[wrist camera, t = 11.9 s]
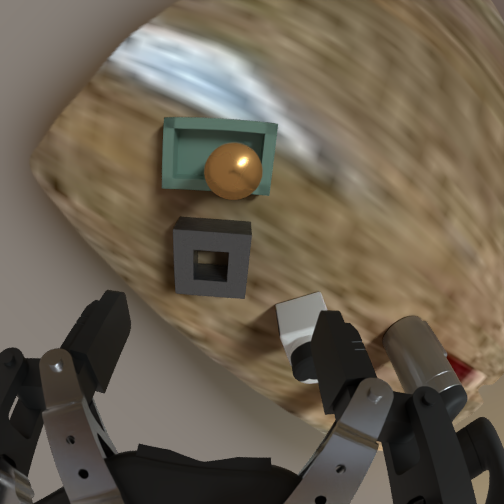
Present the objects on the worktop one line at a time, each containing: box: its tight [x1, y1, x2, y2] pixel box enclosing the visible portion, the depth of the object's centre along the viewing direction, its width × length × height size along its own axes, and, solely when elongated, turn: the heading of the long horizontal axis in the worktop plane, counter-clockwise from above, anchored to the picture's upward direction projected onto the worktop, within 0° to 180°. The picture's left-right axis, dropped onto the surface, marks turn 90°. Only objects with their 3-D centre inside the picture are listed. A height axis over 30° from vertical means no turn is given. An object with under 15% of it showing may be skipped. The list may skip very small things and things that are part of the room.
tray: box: [162, 117, 278, 196], centre depth 29 cm, size 12×8×3 cm, turn 84°
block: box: [173, 217, 252, 299], centre depth 35 cm, size 9×9×4 cm
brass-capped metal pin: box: [204, 142, 263, 200], centre depth 25 cm, size 4×4×11 cm
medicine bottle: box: [275, 292, 327, 384], centre depth 37 cm, size 7×7×12 cm
